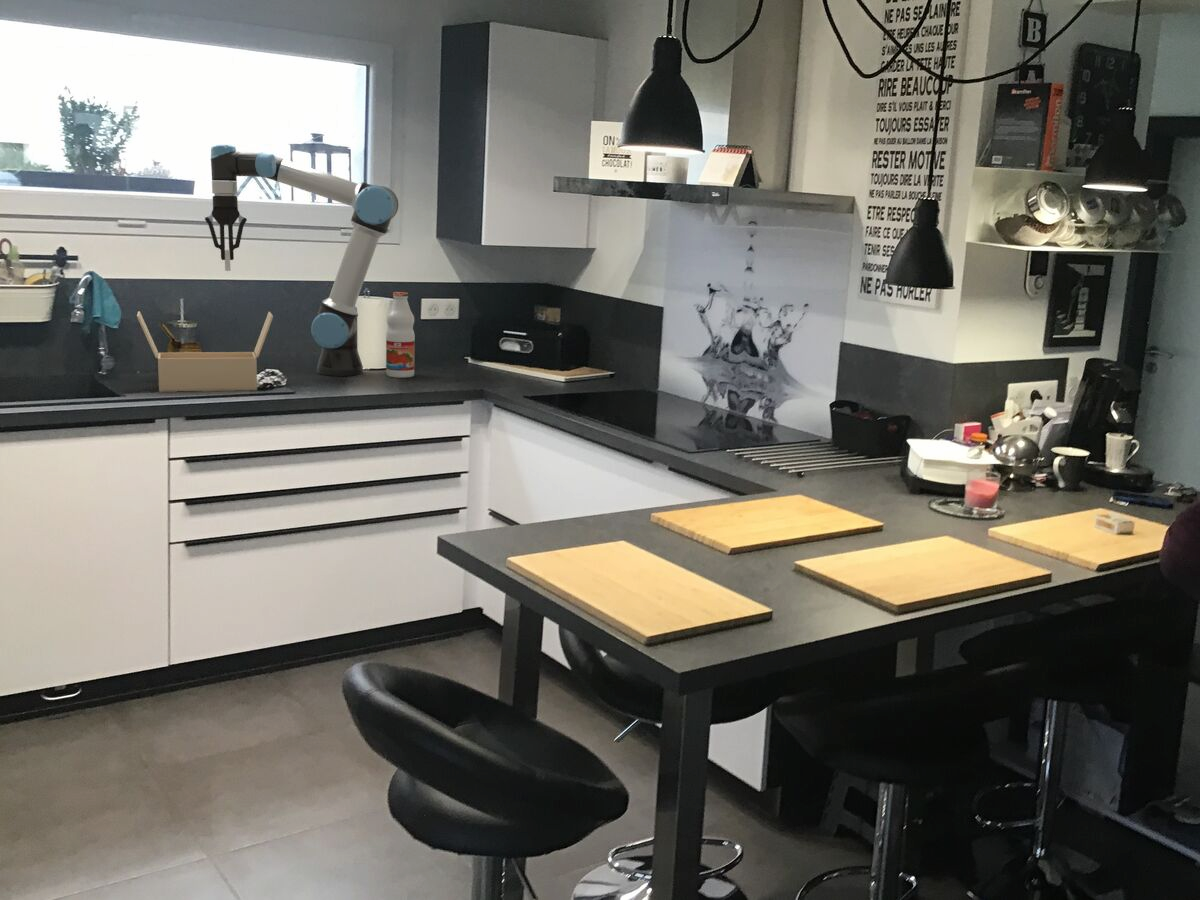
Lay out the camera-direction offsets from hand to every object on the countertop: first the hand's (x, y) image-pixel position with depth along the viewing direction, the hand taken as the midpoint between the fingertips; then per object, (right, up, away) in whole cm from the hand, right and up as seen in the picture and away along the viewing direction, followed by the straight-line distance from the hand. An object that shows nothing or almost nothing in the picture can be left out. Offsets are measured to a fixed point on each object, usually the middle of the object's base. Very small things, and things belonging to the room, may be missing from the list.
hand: (227, 270), depth 377 cm
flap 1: (-16, -23, -25) cm, 38 cm away
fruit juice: (+52, -33, +21) cm, 65 cm away
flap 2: (+15, -22, -14) cm, 30 cm away
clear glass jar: (-14, -35, -1) cm, 37 cm away
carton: (-1, -38, -16) cm, 42 cm away
